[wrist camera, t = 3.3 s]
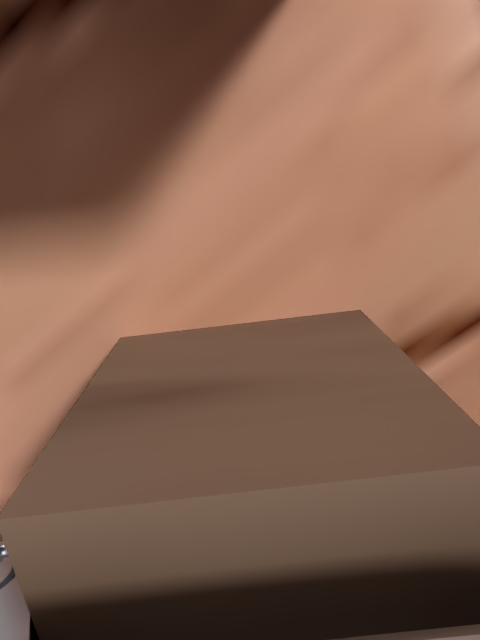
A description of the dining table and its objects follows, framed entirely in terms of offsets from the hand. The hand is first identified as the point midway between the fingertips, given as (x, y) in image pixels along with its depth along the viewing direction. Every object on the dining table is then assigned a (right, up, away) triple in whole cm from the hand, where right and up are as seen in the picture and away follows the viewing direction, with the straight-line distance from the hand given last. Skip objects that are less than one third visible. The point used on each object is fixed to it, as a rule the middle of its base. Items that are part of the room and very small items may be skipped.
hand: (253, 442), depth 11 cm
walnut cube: (0, 0, +1) cm, 1 cm away
